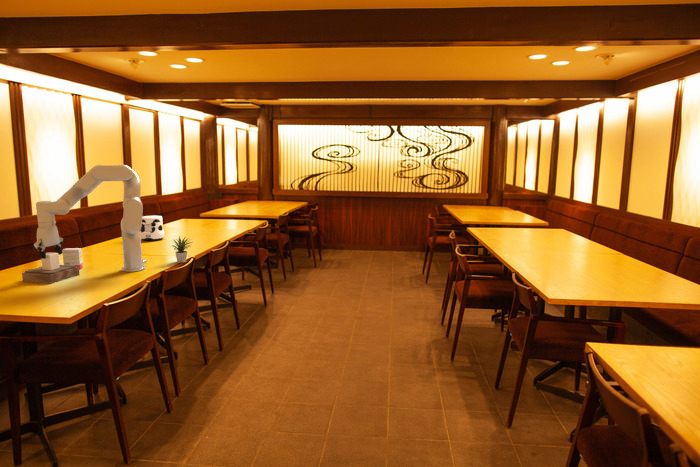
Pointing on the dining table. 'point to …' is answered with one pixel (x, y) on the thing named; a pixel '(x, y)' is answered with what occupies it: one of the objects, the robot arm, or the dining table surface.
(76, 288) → the dining table surface
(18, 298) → the dining table surface
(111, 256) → the dining table surface
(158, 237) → the milk container
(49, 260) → the block
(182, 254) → the house plant
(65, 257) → the ink box
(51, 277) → the pedestal
